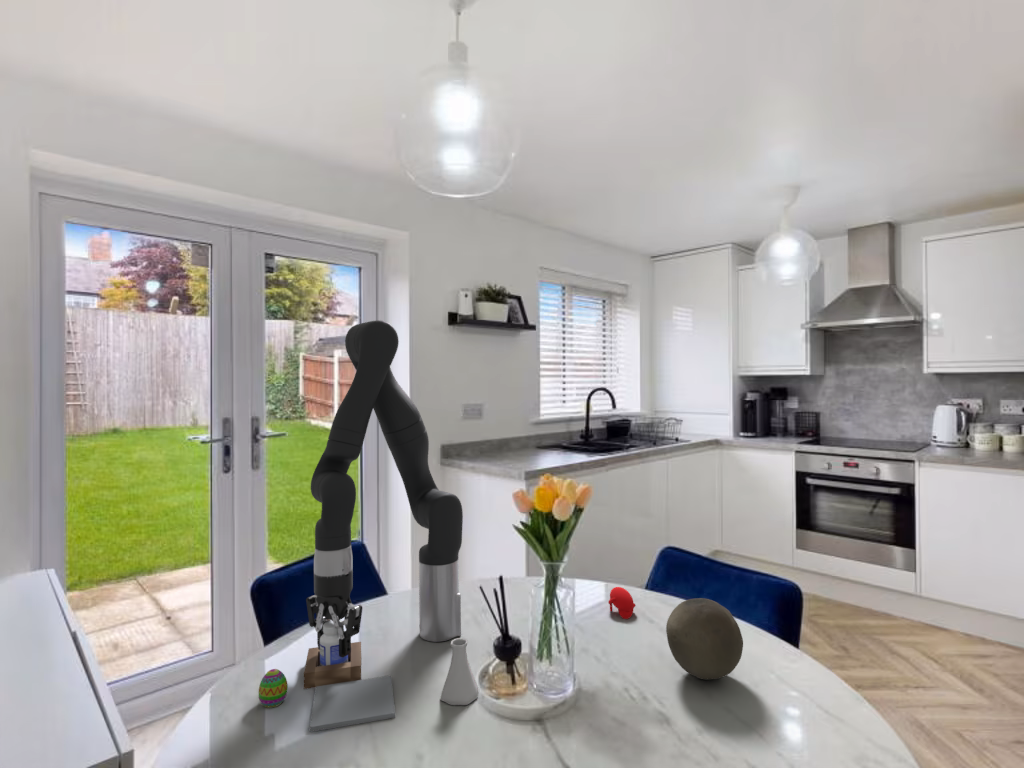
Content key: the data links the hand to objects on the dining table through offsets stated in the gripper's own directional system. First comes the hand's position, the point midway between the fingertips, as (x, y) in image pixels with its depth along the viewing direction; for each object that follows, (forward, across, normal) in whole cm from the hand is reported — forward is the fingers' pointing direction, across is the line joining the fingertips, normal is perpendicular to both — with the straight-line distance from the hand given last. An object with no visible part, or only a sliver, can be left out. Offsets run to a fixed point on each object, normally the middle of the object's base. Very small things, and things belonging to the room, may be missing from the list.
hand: (334, 651), depth 110 cm
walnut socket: (+4, 0, 0) cm, 4 cm away
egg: (+4, -1, -13) cm, 14 cm away
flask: (+4, +28, +5) cm, 28 cm away
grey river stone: (+4, +66, +32) cm, 74 cm away
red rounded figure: (+4, +42, +55) cm, 70 cm away
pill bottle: (+4, 0, 0) cm, 4 cm away
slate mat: (+4, +12, -6) cm, 14 cm away
